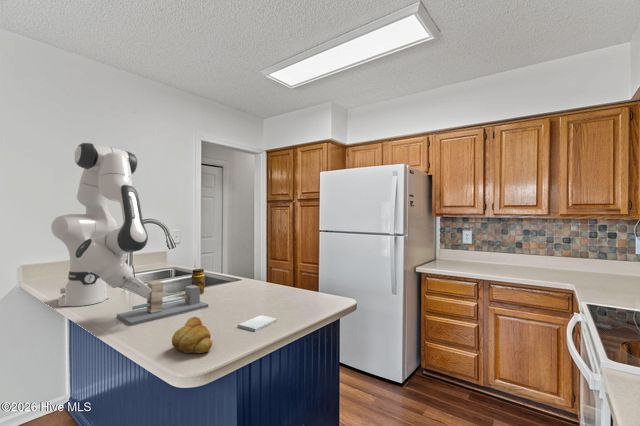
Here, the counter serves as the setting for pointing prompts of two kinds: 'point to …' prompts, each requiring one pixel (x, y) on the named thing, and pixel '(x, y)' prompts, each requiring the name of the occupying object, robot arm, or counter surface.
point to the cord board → (165, 308)
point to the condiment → (198, 279)
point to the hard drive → (257, 323)
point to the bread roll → (192, 337)
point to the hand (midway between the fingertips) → (147, 297)
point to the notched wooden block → (155, 296)
